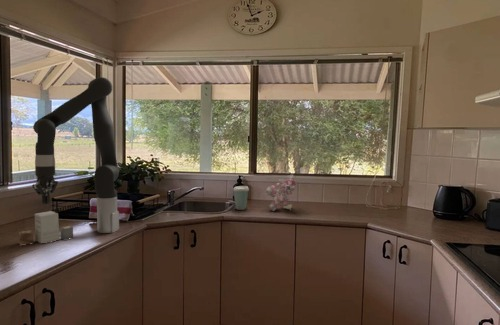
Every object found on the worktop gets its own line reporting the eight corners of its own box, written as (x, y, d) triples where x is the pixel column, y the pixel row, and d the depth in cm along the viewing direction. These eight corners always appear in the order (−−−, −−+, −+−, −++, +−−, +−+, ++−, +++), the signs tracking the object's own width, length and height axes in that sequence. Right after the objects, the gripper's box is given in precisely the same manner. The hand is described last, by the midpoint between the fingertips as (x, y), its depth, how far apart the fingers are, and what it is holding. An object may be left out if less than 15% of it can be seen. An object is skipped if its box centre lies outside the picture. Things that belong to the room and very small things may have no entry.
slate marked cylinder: (75, 237, 156) (75, 226, 155) (68, 240, 151) (68, 229, 150) (65, 236, 157) (65, 225, 156) (58, 239, 152) (58, 228, 151)
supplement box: (52, 237, 155) (52, 210, 154) (59, 240, 150) (58, 213, 149) (34, 241, 149) (34, 213, 148) (41, 244, 144) (40, 216, 143)
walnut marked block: (32, 241, 149) (32, 229, 149) (33, 244, 145) (33, 232, 145) (19, 243, 146) (18, 231, 146) (19, 246, 142) (19, 234, 142)
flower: (263, 202, 238) (262, 173, 225) (294, 199, 239) (295, 170, 226) (266, 221, 221) (265, 190, 208) (300, 218, 222) (301, 187, 209)
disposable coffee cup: (239, 211, 216) (240, 188, 214) (229, 208, 223) (229, 186, 222) (251, 209, 223) (252, 187, 221) (241, 206, 231) (241, 184, 229)
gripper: (41, 166, 140) (42, 207, 141) (63, 163, 153) (64, 201, 154) (25, 165, 141) (26, 206, 142) (48, 163, 154) (49, 200, 155)
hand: (46, 203), depth 148 cm, fingers closed
